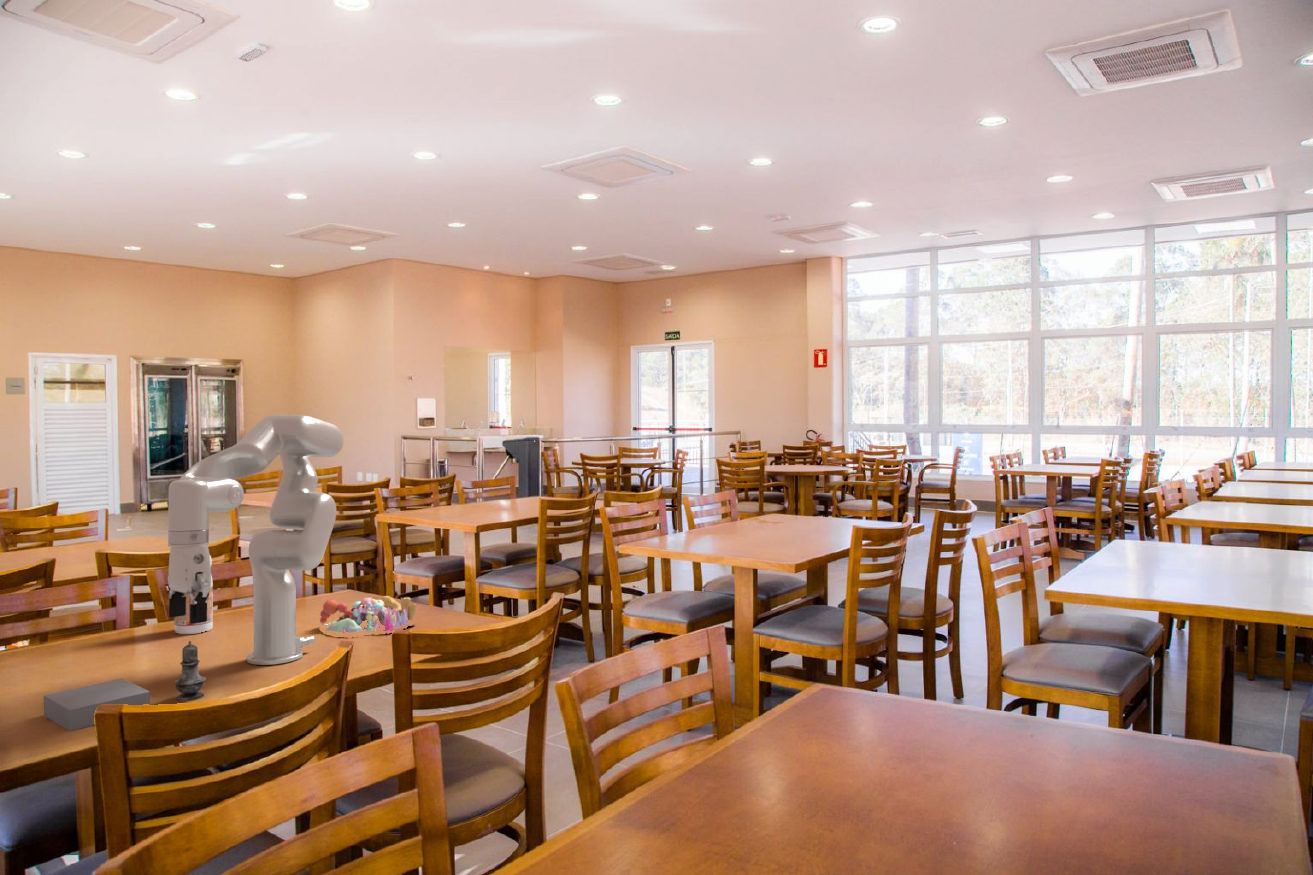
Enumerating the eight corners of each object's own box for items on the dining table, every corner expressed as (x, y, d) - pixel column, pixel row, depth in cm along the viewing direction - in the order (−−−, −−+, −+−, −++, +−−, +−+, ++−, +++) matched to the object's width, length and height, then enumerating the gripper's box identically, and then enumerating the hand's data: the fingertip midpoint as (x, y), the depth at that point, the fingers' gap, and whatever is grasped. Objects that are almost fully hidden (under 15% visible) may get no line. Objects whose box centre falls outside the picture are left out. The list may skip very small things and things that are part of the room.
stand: (122, 697, 179) (121, 678, 179) (150, 711, 170) (149, 691, 170) (43, 715, 168) (43, 695, 168) (69, 731, 159) (69, 710, 159)
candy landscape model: (380, 615, 257) (380, 584, 257) (431, 626, 243) (431, 594, 243) (304, 631, 237) (304, 598, 237) (355, 644, 223) (355, 609, 223)
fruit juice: (169, 635, 230) (168, 533, 229) (180, 627, 239) (180, 528, 239) (207, 634, 232) (206, 532, 231) (217, 625, 241) (216, 527, 241)
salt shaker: (191, 702, 176) (191, 644, 176) (167, 700, 177) (167, 643, 177) (212, 693, 182) (212, 637, 182) (188, 691, 183) (188, 636, 183)
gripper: (226, 539, 176) (225, 622, 176) (188, 533, 187) (187, 611, 187) (188, 543, 170) (187, 628, 170) (151, 536, 181) (151, 616, 181)
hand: (187, 619), depth 179 cm, fingers open, 9 cm apart
